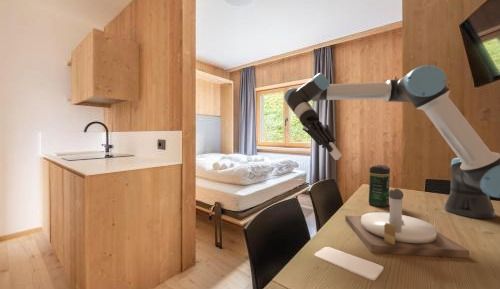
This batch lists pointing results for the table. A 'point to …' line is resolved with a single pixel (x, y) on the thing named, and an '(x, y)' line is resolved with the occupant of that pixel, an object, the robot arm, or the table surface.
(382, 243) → the stand
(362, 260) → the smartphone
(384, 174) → the coffee jar
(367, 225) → the dial
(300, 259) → the table surface
